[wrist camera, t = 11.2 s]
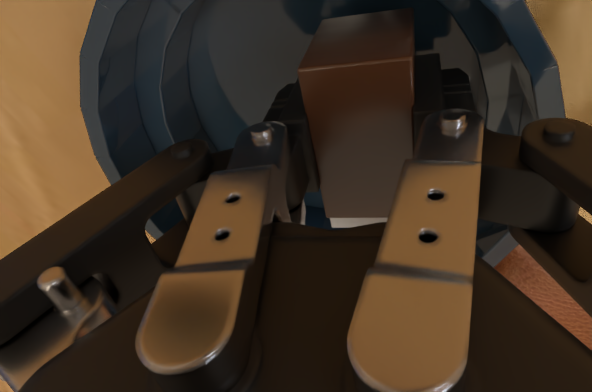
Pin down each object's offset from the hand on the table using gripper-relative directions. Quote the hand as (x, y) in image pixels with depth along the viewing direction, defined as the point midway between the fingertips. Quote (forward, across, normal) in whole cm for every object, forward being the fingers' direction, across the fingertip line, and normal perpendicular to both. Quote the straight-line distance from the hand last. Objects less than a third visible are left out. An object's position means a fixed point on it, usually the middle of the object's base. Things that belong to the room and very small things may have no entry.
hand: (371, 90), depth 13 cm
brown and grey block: (0, 0, +2) cm, 2 cm away
